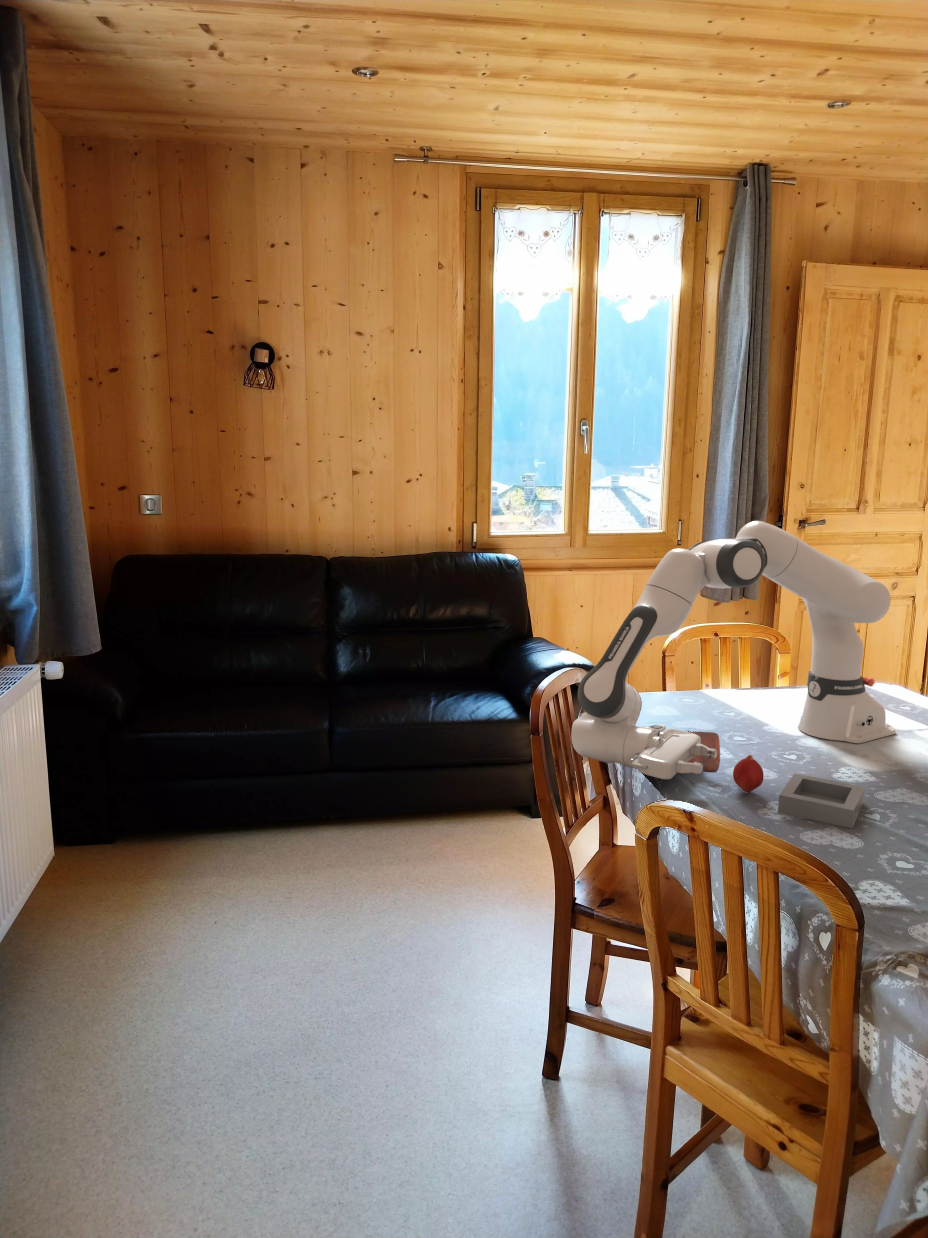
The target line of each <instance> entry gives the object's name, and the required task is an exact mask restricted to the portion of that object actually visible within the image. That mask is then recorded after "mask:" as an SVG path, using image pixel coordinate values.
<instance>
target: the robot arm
mask: <svg viewBox="0 0 928 1238" xmlns="http://www.w3.org/2000/svg"><path fill="white" fill-rule="evenodd" d="M761 576H763V577H765V578H766V579H769V580H770V581H772V582H774V583H775V584H777V585H779V586H780V587H782V588H784V589H786V590H787V591H789V592H790V593H793V594H795V595H797V596H799V597H800V598H801V599H802V601H803V603H804V605H805V607H806V609H807V614H808V619H809V624H810V630H811V637H812V649H811V659H810V660H811V661H810V663H811V664H810V670H809V671H808V675H807V682H806V683H807V684H806V686H807V694H806V697H805V702H804V707H803V712H802V715H801V716H800V720H799V724H798V726H797V727H798V729H799V730H800V731H801V732H803V733H804V734H807V735H810V736H812V737H816V738H820V739H825V740H831V741H840V742H841V741H843V742H848V743H851V744H863V743H867V742H869V741H873V740H876V739H878V740H879V739H880V738H884V737H887V736H888V737H889V736H891V735H895V734H896V728H895V727H893V726H892V725H890V724H889V723H887V722H886V721H887V719H886V717H887V716H886V710H885V708H884V706H883V705H882V704H881V703H880V702H879V701H877V700H876V699H875V698H874V697H873V696H871V694H870V693H868V692H867V691H866V686H867V687H870V688H872V687H874V685H875V683H876V680H875V678H873V677H869V676H865V677H864V676H862V667H863V666H862V665H863V658H864V655H863V654H864V643H863V641H862V639H861V637H860V636H859V633H858V632H857V628H856V625H855V624H873V623H876V622H879V621H880V620H881V619H883V618H884V617H885V615H886V614H887V613H888V612H889V609H890V607H891V593H890V591H889V589H888V587H887V586H885V584H883V583H882V582H880V581H878V580H876V579H875V578H873V577H871V576H869V575H867V574H865V573H863V572H862V571H860V570H858V569H856V568H854V567H852V566H850V565H849V564H846V563H844V562H843V561H840V560H838V559H836V558H834V557H833V556H829V555H827V554H825V553H824V552H821V551H820V550H818V549H817V548H815V547H813V546H811V545H809V544H808V543H807V542H805V541H803V540H802V539H800V538H799V537H796V536H795V535H793V534H792V533H791V532H788V531H786V530H784V529H782V528H780V527H778V526H776V525H773V524H771V523H768V522H766V521H762V520H753V521H750V522H748V523H746V524H745V525H743V526H742V527H741V528H740V530H739V531H738V533H737V534H736V536H735V538H719V539H713V540H703V541H699V542H697V543H695V544H694V545H692V546H691V547H689V548H688V549H686V548H673V549H670V550H669V551H668V552H667V553H666V554H665V555H664V556H663V557H662V558H661V559H660V562H659V563H658V564H657V565H656V566H655V569H653V572H652V573H651V575H650V577H649V578H648V580H647V582H646V585H645V587H644V588H643V590H642V592H641V594H640V596H639V598H638V600H637V602H636V603H635V605H634V607H633V608H632V609H631V610H630V612H629V613H628V615H627V616H626V618H625V619H624V621H623V622H622V624H621V625H620V627H619V629H618V630H617V632H615V635H614V637H613V638H612V640H611V641H610V643H609V645H608V647H607V649H606V650H605V652H604V653H603V655H602V657H601V658H600V660H599V661H598V662H597V664H596V665H594V667H593V668H592V669H591V670H589V671H588V672H587V673H586V674H585V675H584V676H583V678H582V679H581V680H580V683H579V685H578V689H577V700H578V703H579V705H580V707H581V709H582V710H583V711H584V713H583V714H582V715H581V716H579V717H578V718H577V719H575V720H574V721H573V723H572V725H571V731H570V741H571V744H572V746H573V748H574V750H575V752H576V753H578V754H579V755H580V756H582V757H585V758H588V759H591V760H593V761H598V762H603V763H606V764H611V763H616V764H620V765H621V766H623V767H627V768H631V769H635V770H636V769H637V771H638V772H639V773H641V774H643V775H646V776H650V777H654V778H657V779H661V780H671V779H672V778H674V776H675V775H677V773H679V774H690V773H691V774H697V775H699V774H701V773H702V772H704V771H703V764H702V763H698V762H694V763H688V762H689V761H690V760H691V759H692V758H693V757H694V756H695V755H703V756H706V758H708V759H714V758H715V757H716V756H717V750H716V749H712V748H708V747H706V746H705V745H703V744H701V738H700V736H698V735H696V734H694V733H690V732H686V731H687V730H681V729H676V728H666V725H664V724H661V723H660V724H657V723H656V724H654V725H650V726H636V725H637V722H638V719H639V717H640V713H641V711H642V706H643V705H642V698H641V695H640V693H639V692H638V691H637V689H636V688H635V687H634V686H632V685H631V684H630V683H628V682H627V681H628V680H627V678H628V675H629V673H630V671H631V669H632V667H633V666H634V664H635V662H636V661H637V660H638V657H639V656H640V654H641V652H642V651H643V648H644V647H645V646H646V644H647V643H649V642H650V641H651V640H653V639H654V638H657V637H665V636H669V635H672V634H674V633H677V632H678V631H679V630H680V628H681V627H682V626H683V624H684V623H685V621H686V619H687V618H688V616H689V614H690V612H691V611H692V608H693V606H694V604H695V602H696V599H697V597H698V595H699V593H700V592H701V591H702V590H703V588H712V589H731V588H733V589H741V588H746V587H749V586H751V585H753V584H754V583H756V582H757V581H758V580H759V578H760V577H761ZM865 685H866V686H865Z"/></svg>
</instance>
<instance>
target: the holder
mask: <svg viewBox="0 0 928 1238" xmlns="http://www.w3.org/2000/svg"><path fill="white" fill-rule="evenodd" d="M865 791H866V786H863V785H857V784H852V783H846V782H841V781H837V780H831V779H825V778H821V777H816V776H811V775H807V774H802V773H801V774H800V773H795V772H794V774H793V775H792V776H791V777H790V779H789V780H788V782H786V785H785V786H784V788H783V789H782V790H781V792H780V793H779V795H778V805H777V813H779V814H784V815H789V816H793V817H797V818H802V819H808V820H811V821H815V822H821V823H825V824H830V825H834V826H839V827H843V828H847V829H853V827H854V825H855V823H856V821H857V818H858V817H859V814H860V812H861V810H862V808H863V805H864V800H865V799H864V798H865Z"/></svg>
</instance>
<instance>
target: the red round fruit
mask: <svg viewBox="0 0 928 1238" xmlns="http://www.w3.org/2000/svg"><path fill="white" fill-rule="evenodd" d="M732 778H733V781H734V783H735V785H737V786H738V788H740V789H741V790H742V792H744V793H746V794H750V793H752V792H753V791H755V790H756V789H758V788H759V787H761V785H762V784H763V782H764V769H763V767H762V766H761V764H760V763H759V762H758V761H757V760H755V759H754V757H753V755H752V754H748V755H747V756H746V757H745V758H742V759H740V760H739V761H738V762H737V763H736V764H735V766H734V767H733V771H732Z"/></svg>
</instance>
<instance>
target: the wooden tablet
mask: <svg viewBox="0 0 928 1238" xmlns="http://www.w3.org/2000/svg"><path fill="white" fill-rule="evenodd" d="M689 731H690V733H694V734H696V735H698V736H700V738H701V744H703V745H705V746H706V747H708V748H712V749H716V750H717V756H716V757H715V758H714V759H708V758H706V756H703V755H695V756H694V757H693V758H692V759H691V760H690V761H689V762H688V763H694V762H698V763H702V764H703V771H702V772H706V773H715V772H716V771H717V769H718V768H719V767H720V766H719V765H720V759H721V752H720V751H721V750H720V749H721V748H720V747H721V745H720V736H719V734H718V733H716V732H713V731H695V732H694V731H693V730H689ZM691 731H693V732H691Z"/></svg>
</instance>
